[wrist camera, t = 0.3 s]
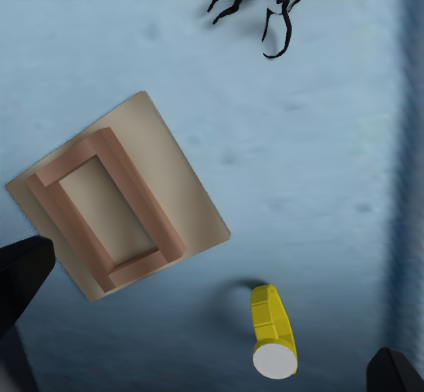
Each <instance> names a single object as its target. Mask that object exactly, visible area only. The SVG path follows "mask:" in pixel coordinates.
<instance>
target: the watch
mask: <svg viewBox="0 0 424 392" xmlns="http://www.w3.org/2000/svg"><path fill="white" fill-rule="evenodd" d="M250 306H251V308H250V309H251V315H252V322H253V326H254V332H255V335H256V339H257V343H256V345H255V346H254V349H253V358H252V360H253V364H254V366H255V368H256V369H257V370H258V371H259V372H260V373H261V374H262V375H264V376H266V377H268V378H273V379H283V378H286V377H289V376H290V375H291V374H295V372H296V369H297V353H296V347H295V342H294V337H293V334H292V329H291V326H290V322H289V319H288V316H287V314H286V312H285V309H284V307H283V305H282V302H281V300H280V298H279V295H278V293H277V289H276V288H275V287H274V286H273V285H272V284H266V285H262V286H259V287H255V288H254V289H253V290H252V292H251V299H250Z"/></svg>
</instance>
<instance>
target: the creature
mask: <svg viewBox="0 0 424 392" xmlns="http://www.w3.org/2000/svg"><path fill="white" fill-rule="evenodd" d="M217 1H218V0H213V1H212V3H211V5H210V7H209V8H208V10H207V12H208V13H209V12H210V10H211V9H212V8H213V5H214V4H215V3H216V2H217ZM241 1H242V0H235V1H234V5H233V6H232V7H230V8H228V9H226V10H224V11H223V12H221V13H220V14H219V15H218V17H216V19H215V20H214V21H213V25H214V24H215V23H216V22H217V21H218V19H219V18H222V17H224V16H226V15H230V14H233V13H235V12H236V11H238V9H239V5H240V3H241ZM289 1H290V0H276V3H277V4H280V3H283V4H282V13H281V14H283V17H284V20H285V23H286V26H287V33H286V40H285V47H284V49H283V50H282V51H281V52H279V53H278V54H277V55H276V56H267V55H266V54H264V53H263V55H264V56H266V57H268V58H276V57H279V56H281V55H282V54H283V53H284V52H285V51H286V50H287V48H288V45H289V42H290V38H291V31H292V26H291V22H290V19H289V16H288V12H290V11H291V9H292V7H293V6H294V5H295V4H296V3H298V2H299V1H300V0H296V1H295V2H294V3H293V5H292V7H291V9H290V10H289V11H288V12H287V7H288V4H289ZM273 13H274V12H272V11H271V10H269V9H268V8H267V25H266V29H265V32H264V35H263V39H262V42H263V40H264V38H265V36H266V33H267V27H268V21H269V17H270V15H271V14H273ZM275 14H277V13H275Z"/></svg>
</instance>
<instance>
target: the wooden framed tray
mask: <svg viewBox="0 0 424 392" xmlns="http://www.w3.org/2000/svg"><path fill="white" fill-rule="evenodd" d="M5 187H6V189H7V190H8V191H9V193H10V194H11V196H12V197H13V198H14V200H15V201H16V202H17V204H18V205H19V206H20V208H21V209H22V211H23V212H24V213H25V215H26V216H27V217H28V219H29V220H30V221H31V223H32V224H33V226H34V227H35V228H36V230H37V231H38V232H39V234H40V235H41V236H44V237H47V238H50V239H51V240H52V241H53V244H54V251H55V256H56V257H57V258H58V260H59V261H60V262H61V264H62V265H63V266H64V268H65V269H66V271H67V272H68V273H69V275H70V276H71V277H72V279H73V280H74V281H75V283H76V284H77V286H78V287H79V288H80V290H81V291H82V292H83V294H84V295H85V296H86V298H87V299H88V301H89V302H90V303H92V302H94V301H96V300H98V299H101V298H103V297H105V296H107V295H109V294H112V293H114V292H116V291H118V290H120V289H122V288H125V287H127V286H129V285H131V284H133V283H135V282H138V281H140V280H142V279H144V278H146V277H148V276H151V275H153V274H155V273H157V272H159V271H161V270H164V269H166V268H168V267H170V266H172V265H174V264H177V263H179V262H181V261H183V260H185V259H187V258H190V257H192V256H194V255H196V254H198V253H200V252H203V251H205V250H207V249H209V248H211V247H213V246H216V245H218V244H220V243H222V242H224V241H226V240H229V239H230V235H231V233H230V231H229V229H228V228H227V226H226V224H225V223H224V221H223V219H222V217H221V216H220V214H219V212H218V211H217V209H216V207H215V206H214V204H213V202H212V201H211V199H210V197H209V196H208V194H207V192H206V191H205V189H204V187H203V186H202V184H201V182H200V181H199V179H198V177H197V176H196V174H195V172H194V171H193V169H192V167H191V166H190V164H189V162H188V161H187V159H186V157H185V156H184V154H183V152H182V151H181V149H180V147H179V146H178V144H177V142H176V140H175V139H174V137H173V135H172V134H171V132H170V130H169V129H168V127H167V125H166V124H165V122H164V120H163V119H162V117H161V115H160V114H159V112H158V110H157V109H156V107H155V105H154V104H153V102H152V100H151V99H150V97H149V95H148V94H147V92H146V91H140V92H138V93H137V94H136V95H134V96H133V97H131V98H130V99H128V100H127V101H125V102H124V103H123V104H121V105H120V106H118V107H117V108H115V109H114V110H113V111H111V112H110V113H108V114H107V115H105V116H104V117H102V118H101V119H100V120H98V121H97V122H95V123H94V124H92V125H91V126H90V127H88V128H87V129H85V130H84V131H82V132H81V133H80V134H78V135H77V136H75V137H74V138H72V139H71V140H69V141H68V142H67V143H65V144H64V145H62V146H61V147H59V148H58V149H57V150H55V151H54V152H52V153H51V154H49V155H48V156H46V157H45V158H44V159H42V160H41V161H39V162H38V163H36V164H35V165H34V166H32V167H31V168H29V169H28V170H26V171H25V172H23V173H22V174H21V175H19V176H18V177H16V178H15V179H13V180H12V181H11V182H9V183H8V184H6V185H5Z"/></svg>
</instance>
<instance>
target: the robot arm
mask: <svg viewBox="0 0 424 392" xmlns="http://www.w3.org/2000/svg"><path fill="white" fill-rule="evenodd" d="M55 261H56V258H55V251H54V244H53V241H52V240H51V239H50V238H47V237H44V236H40V235H36V236H33V237H30V238H27V239H24V240H21V241H19V242H16V243H13V244H10V245H8V246H5V247H2V248H0V340H1V339H2V338H3V336H4V335H5V334H6V333H7V332H8V330H9V329H10V328H11V327H12V326H13V324H14V323H15V322H16V321H17V319H18V318H19V317H20V316H21V314H22V313H23V312H24V310H25V309H26V307H27V306H28V304H29V303H30V301H31V300H32V299H33V297H34V296H35V294H36V293H37V291H38V290H39V288H40V287H41V285H42V284H43V282H44V281H45V279H46V278H47V277H48V275H49V274H50V272H51V271H52V269H53V267H54V265H55ZM366 392H424V380H423V379H422V377H421V376H420V375H419V373H418V372H417V371H416V369H415V368H414V367H413V365H412V364H411V363H410V361H409V360H408V359H407V357H406V356H405V355H404V354H403V353H402V352H401V351H399V350H396V349H393V348H390V347H387V346H383V347H381V348H380V349H379V350H378V352H377V353H376V354H375V356H374V357H373V358H372V359H371V361H370V362H369V363H368V366H367V369H366Z"/></svg>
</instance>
